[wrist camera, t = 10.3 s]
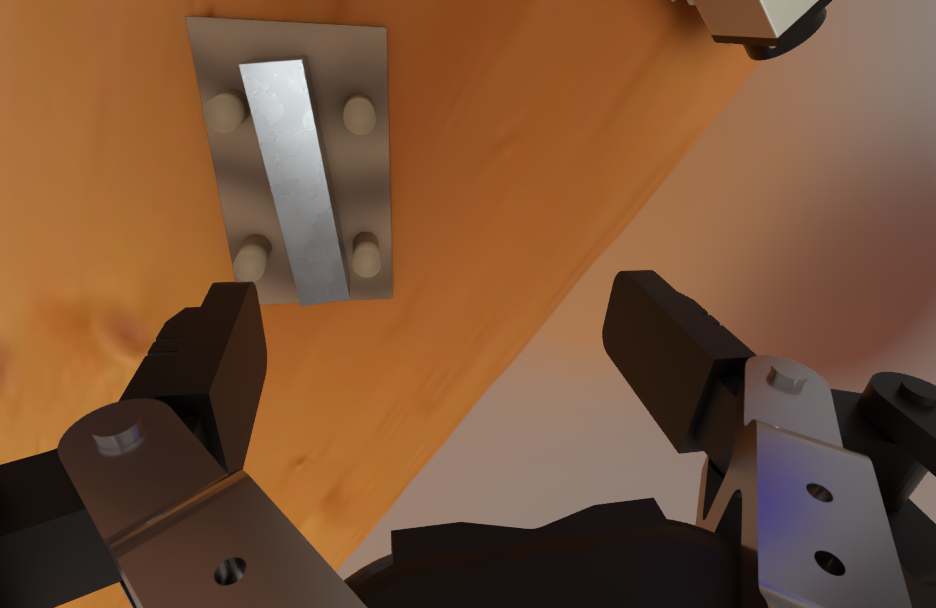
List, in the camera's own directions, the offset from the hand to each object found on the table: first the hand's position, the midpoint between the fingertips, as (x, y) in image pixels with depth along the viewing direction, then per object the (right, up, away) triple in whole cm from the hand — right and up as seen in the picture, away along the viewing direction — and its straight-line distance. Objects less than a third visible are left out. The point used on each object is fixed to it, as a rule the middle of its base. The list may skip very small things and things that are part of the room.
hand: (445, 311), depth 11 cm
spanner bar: (-11, +9, +25) cm, 29 cm away
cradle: (-11, +10, +26) cm, 30 cm away
